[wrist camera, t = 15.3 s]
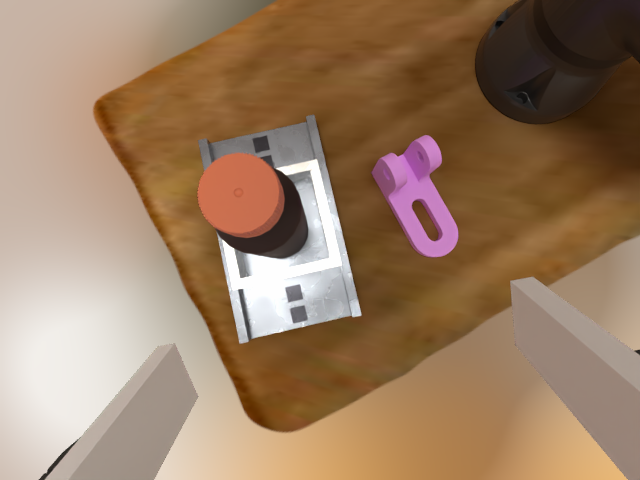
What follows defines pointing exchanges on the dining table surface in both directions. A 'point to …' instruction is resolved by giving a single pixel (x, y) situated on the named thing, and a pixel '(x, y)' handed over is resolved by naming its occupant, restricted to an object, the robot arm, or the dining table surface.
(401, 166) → the bracket
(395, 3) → the dining table surface
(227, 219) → the vinegar
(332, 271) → the grey base plate
